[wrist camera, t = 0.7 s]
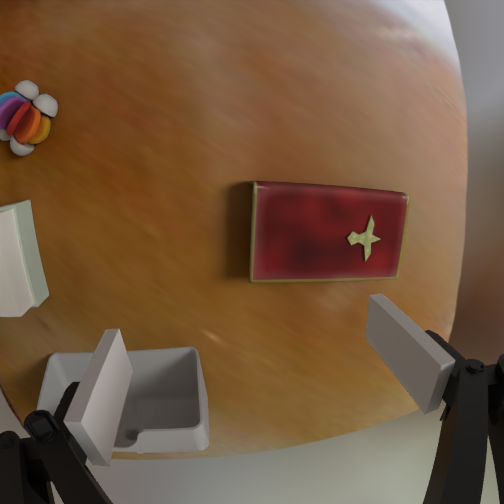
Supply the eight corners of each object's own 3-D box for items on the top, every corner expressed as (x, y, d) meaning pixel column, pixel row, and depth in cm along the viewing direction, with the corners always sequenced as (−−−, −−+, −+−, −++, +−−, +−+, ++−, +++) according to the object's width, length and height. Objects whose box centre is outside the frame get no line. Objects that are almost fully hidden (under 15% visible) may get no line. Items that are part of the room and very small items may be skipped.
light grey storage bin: (83, 420, 46) (66, 470, 34) (50, 351, 41) (19, 400, 29) (213, 418, 49) (217, 475, 37) (198, 345, 44) (197, 403, 32)
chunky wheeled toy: (36, 163, 33) (7, 165, 27) (-2, 128, 31) (-32, 126, 24) (70, 109, 32) (44, 101, 25) (29, 77, 30) (1, 67, 23)
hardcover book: (249, 179, 39) (254, 182, 35) (395, 190, 42) (411, 194, 38) (245, 271, 42) (249, 283, 38) (384, 270, 45) (398, 279, 41)
